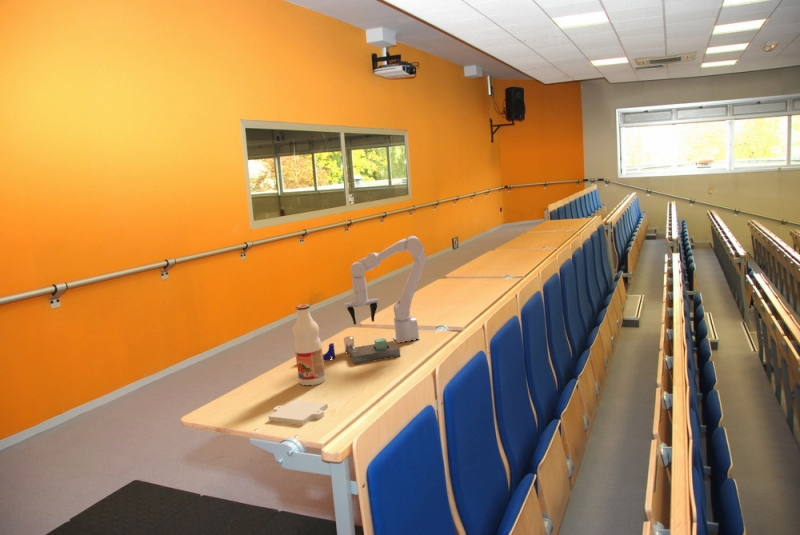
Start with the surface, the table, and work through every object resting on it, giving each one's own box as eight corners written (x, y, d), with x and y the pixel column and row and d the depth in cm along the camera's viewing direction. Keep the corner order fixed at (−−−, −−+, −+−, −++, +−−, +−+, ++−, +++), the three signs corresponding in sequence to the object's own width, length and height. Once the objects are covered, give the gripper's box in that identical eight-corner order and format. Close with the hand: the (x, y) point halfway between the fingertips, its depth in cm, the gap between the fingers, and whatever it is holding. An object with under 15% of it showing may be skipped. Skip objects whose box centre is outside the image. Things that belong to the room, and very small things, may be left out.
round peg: (354, 349, 250) (352, 335, 249) (355, 352, 246) (354, 338, 245) (344, 351, 249) (343, 337, 248) (346, 354, 245) (344, 339, 244)
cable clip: (303, 364, 239) (301, 349, 238) (305, 360, 243) (303, 346, 242) (333, 361, 238) (332, 346, 237) (335, 357, 243) (333, 343, 242)
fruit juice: (328, 382, 214) (318, 305, 209) (302, 388, 211) (291, 310, 206) (323, 375, 223) (313, 300, 218) (297, 380, 220) (287, 305, 215)
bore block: (393, 348, 246) (392, 340, 246) (400, 356, 235) (399, 348, 234) (349, 355, 243) (348, 348, 242) (354, 364, 231) (353, 356, 231)
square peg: (385, 352, 242) (384, 337, 241) (388, 355, 238) (386, 340, 237) (376, 354, 241) (374, 339, 240) (378, 356, 237) (376, 342, 236)
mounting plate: (334, 409, 190) (333, 404, 190) (310, 427, 179) (309, 421, 178) (288, 404, 198) (287, 399, 198) (262, 421, 187) (261, 415, 187)
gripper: (344, 295, 247) (348, 327, 249) (379, 290, 250) (382, 321, 252) (341, 292, 254) (345, 323, 256) (375, 287, 257) (379, 318, 259)
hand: (363, 322), depth 255 cm, fingers open, 7 cm apart
